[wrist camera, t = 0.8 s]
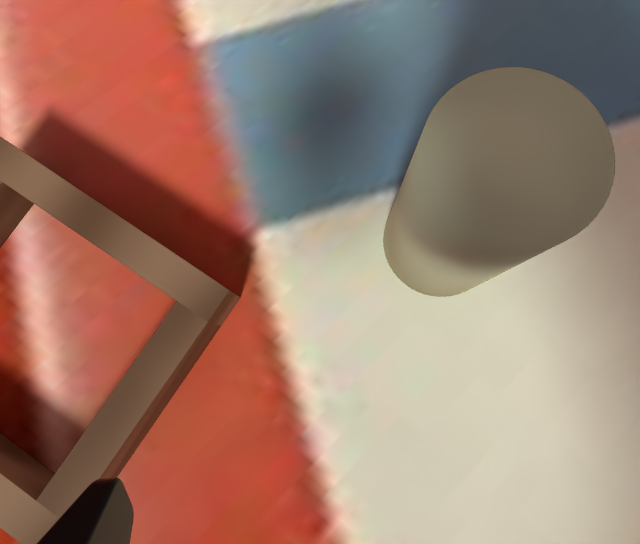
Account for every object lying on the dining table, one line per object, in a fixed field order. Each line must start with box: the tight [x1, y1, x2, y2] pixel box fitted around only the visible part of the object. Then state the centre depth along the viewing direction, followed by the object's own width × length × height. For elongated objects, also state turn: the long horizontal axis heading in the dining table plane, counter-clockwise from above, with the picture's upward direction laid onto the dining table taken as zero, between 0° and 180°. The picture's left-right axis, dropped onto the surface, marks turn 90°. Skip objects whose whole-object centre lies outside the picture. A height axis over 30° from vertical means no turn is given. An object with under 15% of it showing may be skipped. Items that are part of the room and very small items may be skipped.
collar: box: [0, 137, 240, 544], centre depth 22 cm, size 12×12×2 cm
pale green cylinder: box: [383, 67, 615, 297], centre depth 18 cm, size 5×5×10 cm
